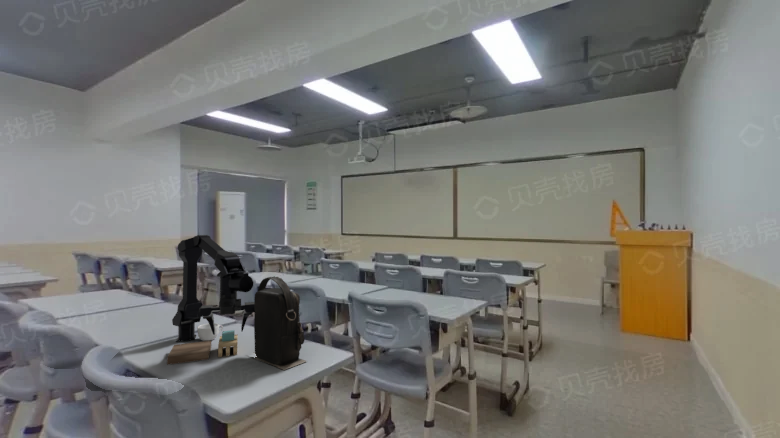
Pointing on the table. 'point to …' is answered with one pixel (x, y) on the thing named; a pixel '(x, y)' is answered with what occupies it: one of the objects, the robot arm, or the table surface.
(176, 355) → the block
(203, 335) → the teacup
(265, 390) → the table surface
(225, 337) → the teal square block
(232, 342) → the pallet
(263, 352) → the shoulder bag
